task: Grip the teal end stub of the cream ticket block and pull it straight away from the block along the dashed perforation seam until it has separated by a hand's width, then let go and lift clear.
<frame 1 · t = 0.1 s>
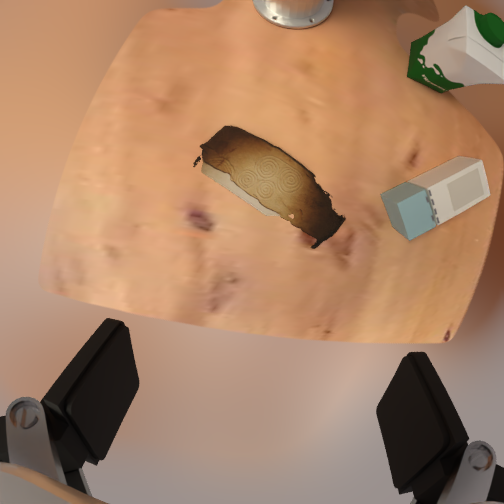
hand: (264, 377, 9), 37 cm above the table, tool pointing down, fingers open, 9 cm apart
milk carton: (425, 68, 33), on the table
ticket block: (439, 183, 40), on the table
stub: (407, 209, 39), point 4 cm above the table, slide at 0.0 cm
parchment: (273, 182, 43), on the table
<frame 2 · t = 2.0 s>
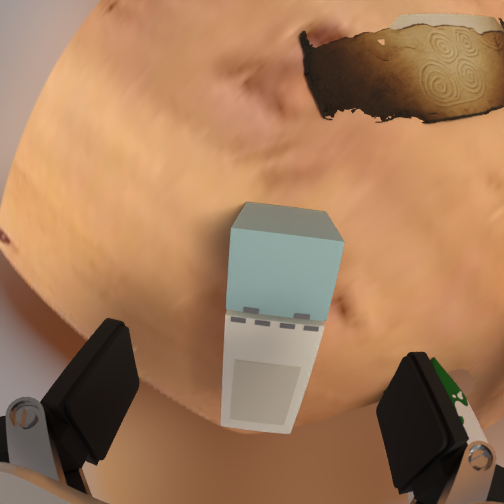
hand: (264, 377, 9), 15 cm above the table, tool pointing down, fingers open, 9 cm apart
milk carton: (418, 386, 27), on the table
ticket block: (269, 331, 26), on the table
stub: (282, 255, 19), point 4 cm above the table, slide at 0.0 cm
parchment: (442, 64, 16), on the table
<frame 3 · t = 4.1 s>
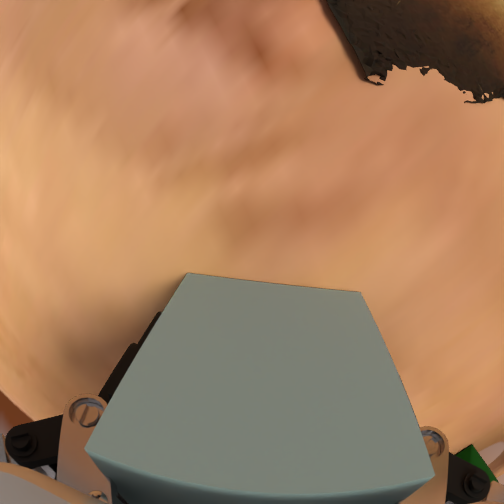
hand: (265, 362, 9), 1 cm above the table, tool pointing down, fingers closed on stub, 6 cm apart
milk carton: (445, 469, 16), on the table
stub: (261, 416, 7), point 4 cm above the table, slide at 0.0 cm, touching gripper
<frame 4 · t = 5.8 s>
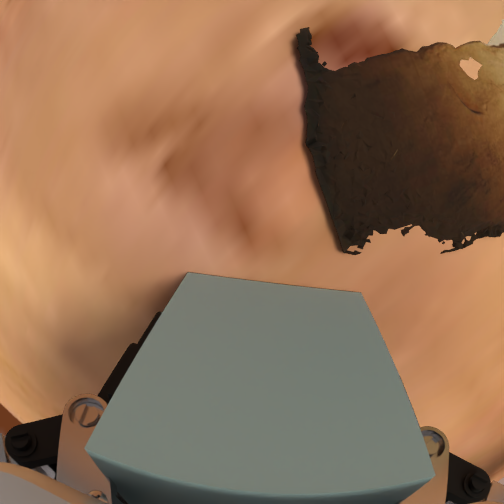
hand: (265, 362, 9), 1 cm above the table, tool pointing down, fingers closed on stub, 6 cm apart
stub: (261, 415, 7), point 4 cm above the table, slide at 5.5 cm, touching gripper
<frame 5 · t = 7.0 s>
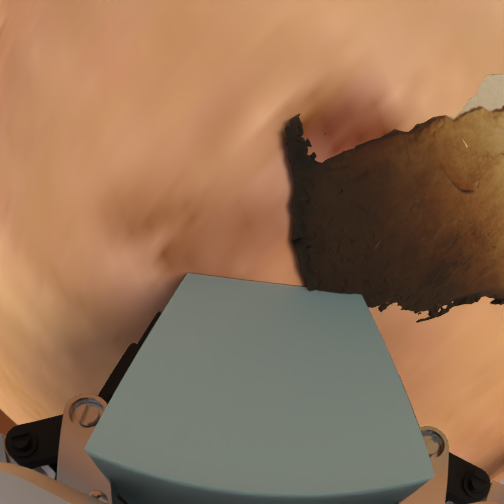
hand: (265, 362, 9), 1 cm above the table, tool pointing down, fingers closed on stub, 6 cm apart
stub: (261, 416, 7), point 4 cm above the table, slide at 8.5 cm, touching gripper
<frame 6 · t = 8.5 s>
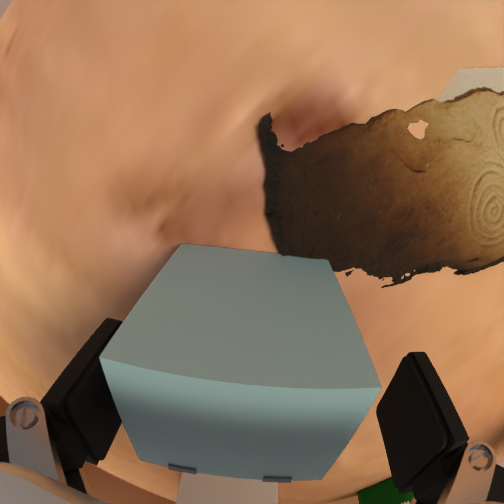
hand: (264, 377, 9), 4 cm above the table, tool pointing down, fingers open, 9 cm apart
milk carton: (395, 482, 22), on the table
ticket block: (231, 469, 19), on the table
stub: (242, 358, 9), point 4 cm above the table, slide at 8.5 cm
parchment: (500, 160, 10), on the table
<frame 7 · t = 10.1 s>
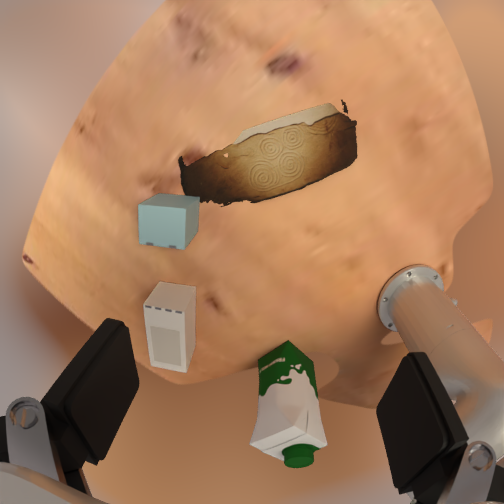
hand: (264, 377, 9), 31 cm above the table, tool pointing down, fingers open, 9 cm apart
milk carton: (285, 360, 49), on the table
ticket block: (178, 315, 46), on the table
stub: (170, 219, 36), point 4 cm above the table, slide at 8.5 cm
parchment: (271, 158, 37), on the table
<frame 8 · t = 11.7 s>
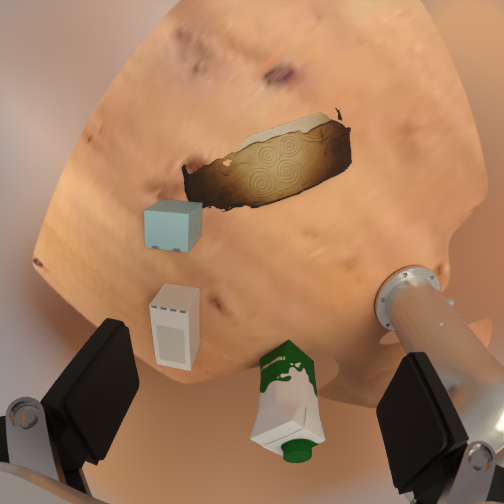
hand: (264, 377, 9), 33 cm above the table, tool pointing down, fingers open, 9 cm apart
milk carton: (286, 359, 50), on the table
ticket block: (183, 315, 48), on the table
stub: (174, 223, 39), point 4 cm above the table, slide at 8.5 cm
parchment: (269, 165, 39), on the table
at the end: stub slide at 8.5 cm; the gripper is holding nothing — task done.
